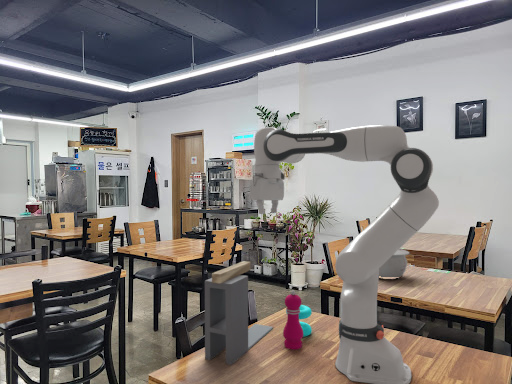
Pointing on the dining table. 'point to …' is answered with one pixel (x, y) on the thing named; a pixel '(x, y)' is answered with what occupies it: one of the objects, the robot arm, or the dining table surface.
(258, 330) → the mat
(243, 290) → the stand
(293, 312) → the pepper mill
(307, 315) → the donuts
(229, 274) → the bar
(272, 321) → the dining table surface
